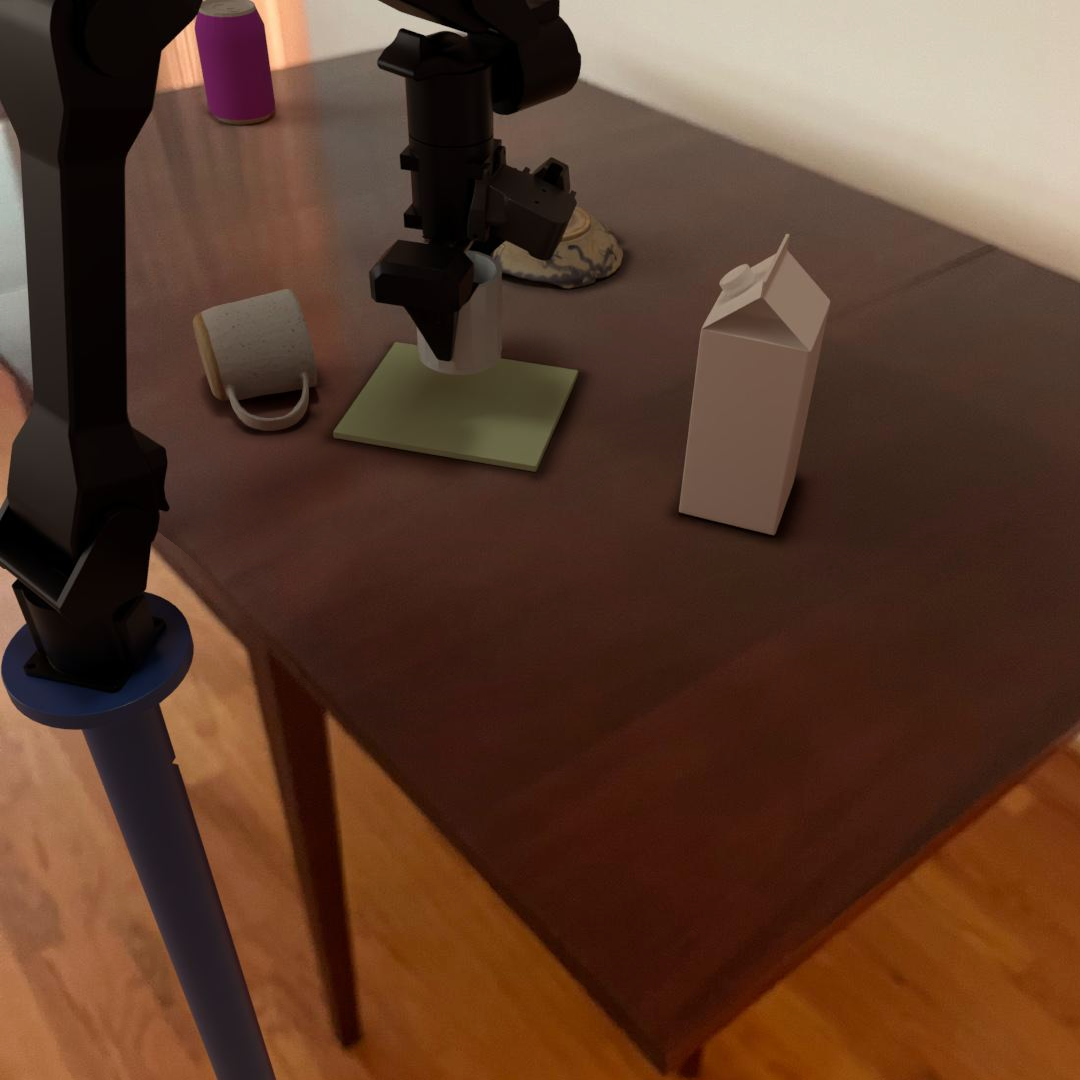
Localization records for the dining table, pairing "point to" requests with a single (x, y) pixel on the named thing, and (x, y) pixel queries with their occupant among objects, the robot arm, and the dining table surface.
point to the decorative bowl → (567, 255)
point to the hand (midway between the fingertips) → (458, 338)
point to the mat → (460, 410)
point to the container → (474, 324)
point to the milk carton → (753, 393)
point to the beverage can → (234, 61)
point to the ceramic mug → (257, 353)
